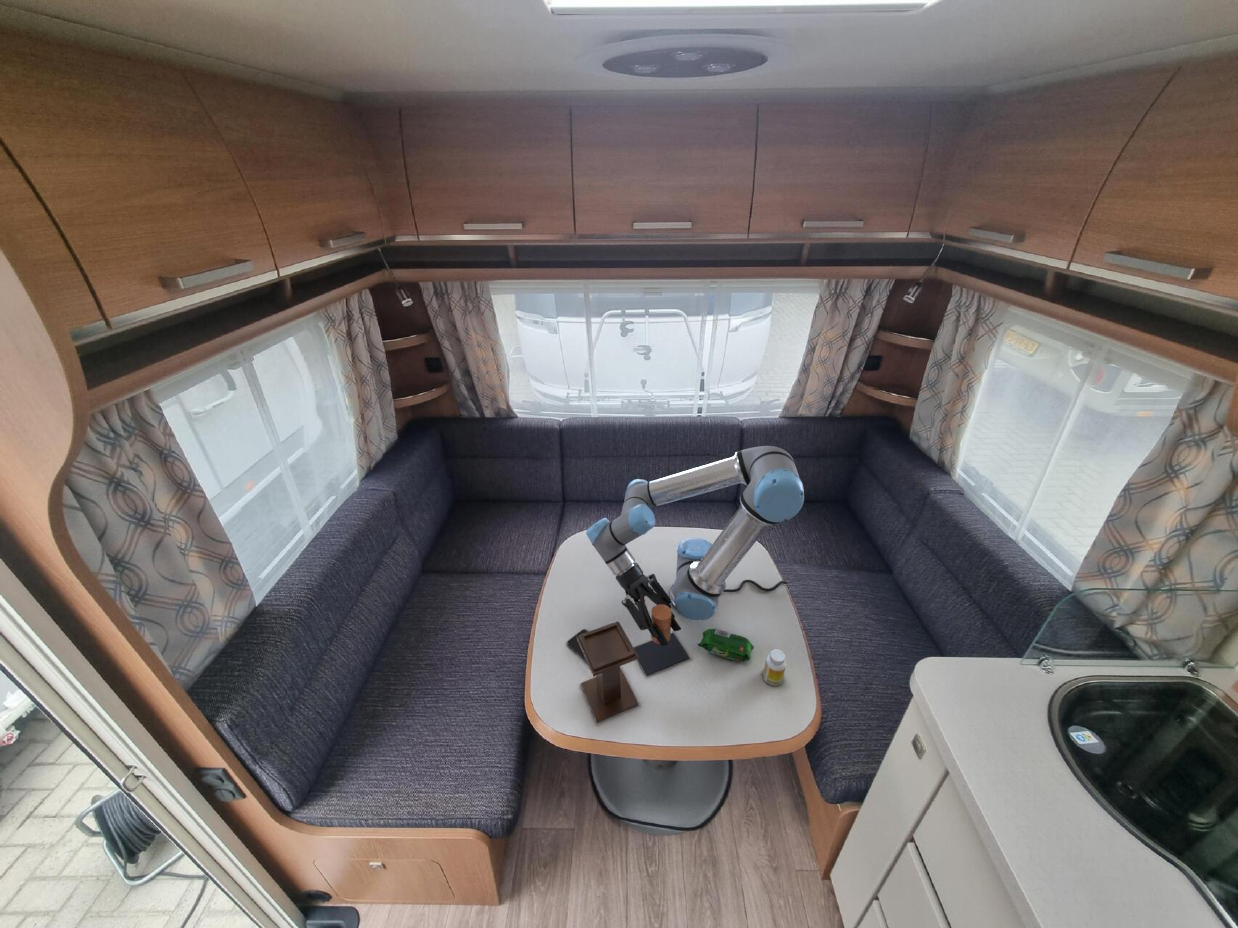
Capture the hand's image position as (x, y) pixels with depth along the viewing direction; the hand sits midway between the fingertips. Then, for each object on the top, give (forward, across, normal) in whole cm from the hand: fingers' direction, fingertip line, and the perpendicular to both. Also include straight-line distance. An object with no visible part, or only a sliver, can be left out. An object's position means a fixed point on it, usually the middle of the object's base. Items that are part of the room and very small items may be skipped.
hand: (671, 637), depth 137 cm
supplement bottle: (+25, -13, +11) cm, 31 cm away
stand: (+2, +20, -12) cm, 23 cm away
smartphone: (-7, +12, -21) cm, 25 cm away
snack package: (+15, -13, +1) cm, 20 cm away
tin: (-1, 0, -4) cm, 4 cm away
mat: (+5, 0, -10) cm, 11 cm away
